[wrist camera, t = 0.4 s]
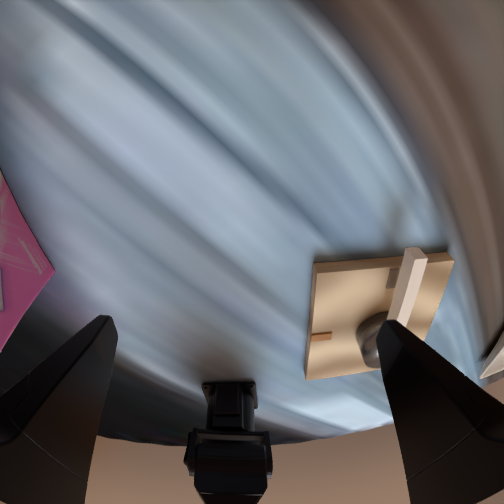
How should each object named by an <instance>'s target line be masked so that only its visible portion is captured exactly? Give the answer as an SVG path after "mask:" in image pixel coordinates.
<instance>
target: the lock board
mask: <svg viewBox="0 0 504 504" xmlns="http://www.w3.org/2000/svg"><path fill="white" fill-rule="evenodd" d="M425 255H426V256H427V258H428V260H427V264H426V267H425V271H424V274H423V277H422V281H421V284H420V287H419V290H418V294H417V297H416V300H415V303H414V306H413V308H412V311H411V314H410V317H409V320H408V322H407V325H406V328H407V329H408V330H410V331H411V332H412V333H414V334H415V335H416V336H417V337H419V338H420V339H421V340H422V341H424V339H425V337H426V335H427V332H428V330H429V328H430V326H431V323H432V321H433V319H434V316H435V314H436V311H437V309H438V306H439V304H440V301H441V298H442V296H443V293H444V290H445V288H446V285H447V282H448V279H449V276H450V273H451V270H452V267H453V264H454V261H455V260H454V259H453V258H452V257H451V256H450V255H449V254H448V253H447V252H442V253H431V254H425ZM403 257H404V256H397V257H385V258H373V259H361V260H348V261H335V262H322V263H313V277H312V291H311V304H310V316H309V327H308V337H307V347H306V357H305V365H304V373H305V379H306V380H313V379H321V378H329V377H336V376H343V375H349V374H355V373H361V372H367V371H372V370H377V369H374V368H369V367H367V366H366V365H365V363H364V360H363V357H362V355H361V352H360V349H359V346H358V343H357V341H356V332H357V330H358V328H359V327H360V325H361V324H362V323H363V322H364V321H365V320H367V319H368V318H369V317H371V316H373V315H375V314H378V313H381V312H387V311H389V310H390V307H391V303H392V300H393V296H394V293H395V289H396V285H397V281H398V277H399V273H400V269H401V265H402V261H403ZM378 369H381V368H378Z"/></svg>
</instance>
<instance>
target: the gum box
mask: <svg viewBox="0 0 504 504" xmlns="http://www.w3.org/2000/svg"><path fill="white" fill-rule="evenodd" d="M54 273H55V270H54V268H53V267H52V265H51V264H50V262H49V261H48V259H47V258H46V256H45V255H44V253H43V251H42V250H41V248H40V246H39V244H38V242H37V241H36V239H35V237H34V235H33V233H32V232H31V230H30V228H29V226H28V225H27V223H26V222H25V220H24V218H23V216H22V214H21V212H20V210H19V208H18V206H17V204H16V202H15V200H14V198H13V196H12V193H11V191H10V189H9V187H8V185H7V184H6V182H5V180H4V177H3V175H2V173H1V171H0V352H1V350H2V348H3V347H4V345H5V343H6V342H7V340H8V338H9V337H10V335H11V334H12V332H13V330H14V329H15V327H16V326H17V324H18V322H19V321H20V319H21V318H22V316H23V315H24V313H25V312H26V310H27V309H28V308H29V306H30V305H31V303H32V302H33V300H34V299H35V298H36V296H37V295H38V294H39V292H40V291H41V289H42V288H43V287H44V286H45V284H46V283H47V282H48V281H49V279H50V278H51V277H52V276H53V275H54Z"/></svg>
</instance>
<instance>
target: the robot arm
mask: <svg viewBox="0 0 504 504" xmlns="http://www.w3.org/2000/svg"><path fill="white" fill-rule="evenodd" d="M117 341H118V333H117V330H116V327H115V325H114V322H113V319H112V317H111V316H108V315H99V316H97V317H96V318H95V319H94V320H92V321H91V322H90V323H88V324H87V325H86V326H85V327H83V328H82V329H81V330H80V331H78V332H77V333H76V334H75V335H74V336H72V337H71V338H70V339H69V340H67V341H66V342H65V343H64V344H62V345H61V346H60V347H59V348H58V349H56V350H55V351H54V352H53V353H52V354H50V355H49V356H48V357H47V358H46V359H44V360H43V361H42V362H41V363H40V364H38V365H37V366H36V367H35V368H34V369H33V370H31V371H30V372H29V374H27V375H25V376H24V377H23V378H22V379H21V380H20V381H18V382H17V383H16V384H15V385H14V386H12V387H11V388H10V389H8V390H7V391H6V392H4V393H3V394H2V395H0V504H84V503H85V495H86V489H87V482H88V476H89V470H90V465H91V459H92V454H93V450H94V445H95V440H96V436H97V431H98V427H99V423H100V418H101V414H102V410H103V406H104V402H105V399H106V395H107V391H108V387H109V384H110V380H111V375H112V369H113V363H114V357H115V352H116V346H117ZM376 345H377V350H378V355H379V361H380V366H381V372H382V377H383V382H384V386H385V389H386V393H387V397H388V400H389V404H390V408H391V412H392V416H393V420H394V424H395V427H396V432H397V436H398V440H399V445H400V449H401V454H402V459H403V464H404V469H405V474H406V479H407V486H408V491H409V497H410V503H411V504H504V404H502V403H501V402H499V401H498V400H497V399H495V398H494V397H492V396H491V395H490V394H488V393H487V392H486V391H484V390H483V389H482V388H480V387H479V386H478V385H477V384H475V383H474V382H473V381H472V380H470V379H469V378H468V377H467V376H465V375H464V374H463V373H462V372H461V371H459V370H458V369H457V368H456V367H455V366H453V365H452V364H451V363H450V362H448V361H447V360H446V359H445V358H444V357H442V356H441V355H440V354H439V353H437V352H436V351H435V350H434V349H432V348H431V347H430V346H429V345H427V344H426V343H425V342H424V341H422V340H421V339H420V338H419V337H417V336H416V335H415V334H414V333H412V332H411V331H410V330H408V329H407V328H406V327H405V326H403V325H402V324H401V323H399V322H398V321H397V320H395V319H390V320H385V321H384V322H383V323H382V325H381V328H380V330H379V332H378V335H377V337H376ZM202 390H203V393H204V395H205V398H206V401H207V403H208V410H207V424H206V429H198V428H194V427H193V431H192V432H190V433H189V435H188V444H187V448H186V452H185V456H184V464H185V465H186V466H187V467H188V470H189V475H190V476H194V486H195V488H196V491H197V493H198V495H199V496H200V498H201V500H202V501H203V503H204V504H257V503H258V502H259V500H260V499H261V497H262V495H263V494H264V492H265V491H266V489H267V479H271V477H272V469H273V465H272V464H273V463H272V462H273V461H272V452H271V445H270V438H269V432H268V430H264V431H255V425H254V409H257V408H258V403H257V394H256V384H255V382H227V383H203V384H202Z"/></svg>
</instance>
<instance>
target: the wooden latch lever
mask: <svg viewBox="0 0 504 504" xmlns="http://www.w3.org/2000/svg"><path fill="white" fill-rule="evenodd" d="M427 260H428V258H427V256H426V255H425V254H424V253H423V252H422V251H421V250H420V248H419V247H411V248H405V252H404V257H403V261H402V265H401V269H400V273H399V277H398V281H397V285H396V289H395V293H394V296H393V300H392V303H391V307H390V310H389V311H387V312H381V313H378V314H375V315H373V316H371V317H369V318H368V319H367V320H365V321H364V322H363V323H362V324H361V325H360V327H359V328H358V330H357V332H356V341H357V343H358V346H359V349H360V352H361V355H362V357H363V360H364V363H365V365H366V366H367V367H369V368H374V369H378V368H381V366H380V361H379V355H378V350H377V345H376V337H377V335H378V332H379V330H380V328H381V325H382V323H383V322H384V321H385V320H390V319H395V320H397V321H398V322H399V323H401V324H402V325H403V326H405V327H406V325H407V322H408V320H409V317H410V314H411V311H412V308H413V306H414V303H415V300H416V297H417V294H418V290H419V287H420V284H421V281H422V277H423V274H424V271H425V267H426V264H427Z"/></svg>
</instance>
